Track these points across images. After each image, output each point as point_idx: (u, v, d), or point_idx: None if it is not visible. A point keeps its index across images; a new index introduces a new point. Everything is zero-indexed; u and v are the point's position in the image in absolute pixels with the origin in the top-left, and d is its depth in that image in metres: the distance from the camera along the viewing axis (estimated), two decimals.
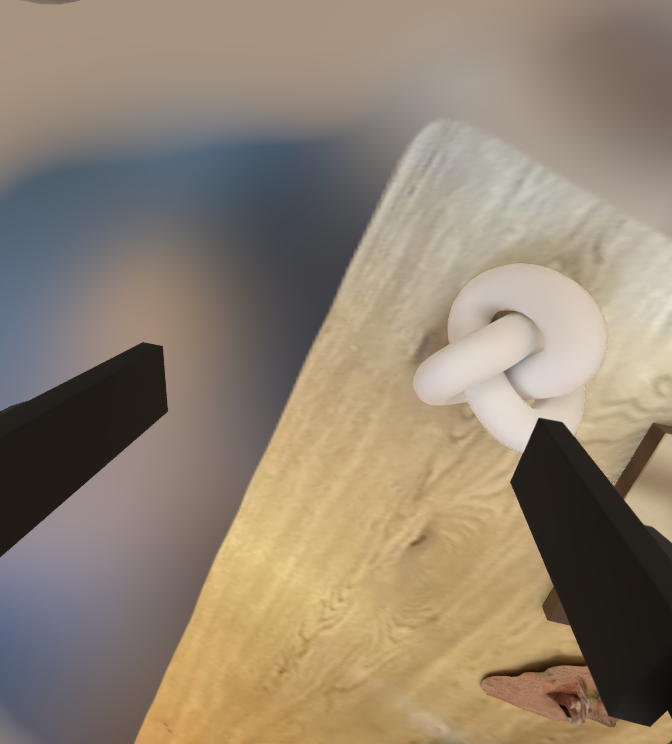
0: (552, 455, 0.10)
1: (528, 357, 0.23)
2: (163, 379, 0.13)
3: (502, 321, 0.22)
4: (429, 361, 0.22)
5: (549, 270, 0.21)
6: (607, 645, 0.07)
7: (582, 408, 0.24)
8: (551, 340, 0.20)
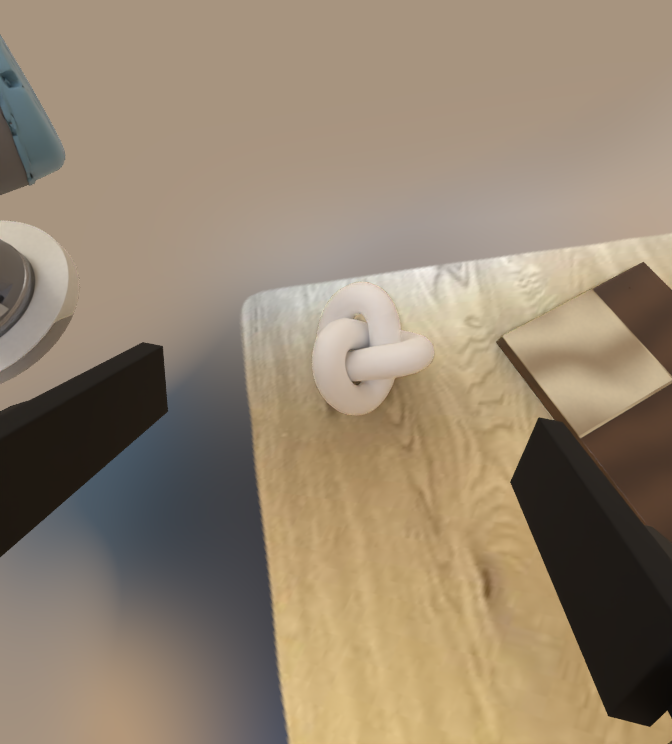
0: (552, 455, 0.10)
1: None
2: (163, 379, 0.13)
3: None
4: None
5: None
6: (607, 645, 0.07)
7: (424, 336, 0.34)
8: (358, 306, 0.32)
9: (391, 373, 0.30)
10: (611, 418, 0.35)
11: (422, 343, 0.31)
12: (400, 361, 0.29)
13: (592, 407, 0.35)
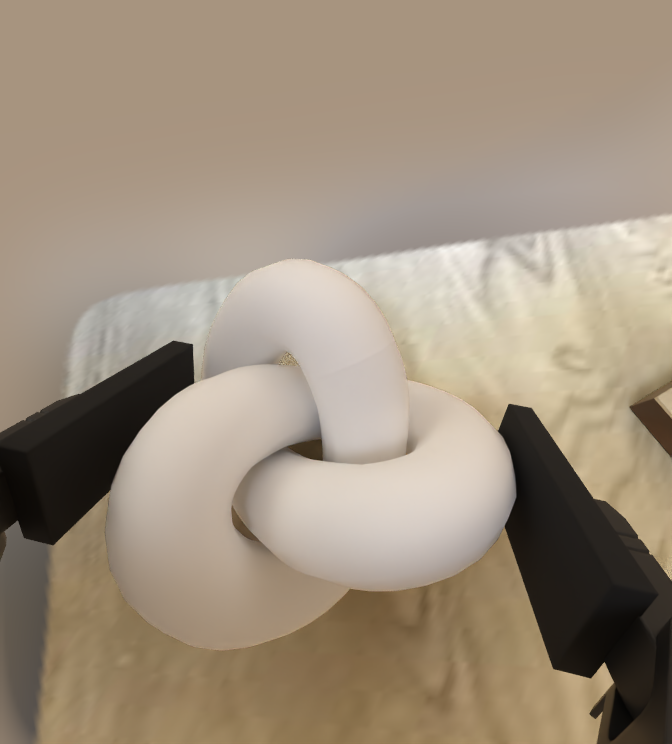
0: (518, 438, 0.11)
1: None
2: (192, 376, 0.14)
3: None
4: None
5: None
6: (554, 606, 0.08)
7: (475, 413, 0.12)
8: (277, 332, 0.10)
9: (383, 587, 0.08)
10: None
11: (487, 461, 0.09)
12: (417, 555, 0.08)
13: None
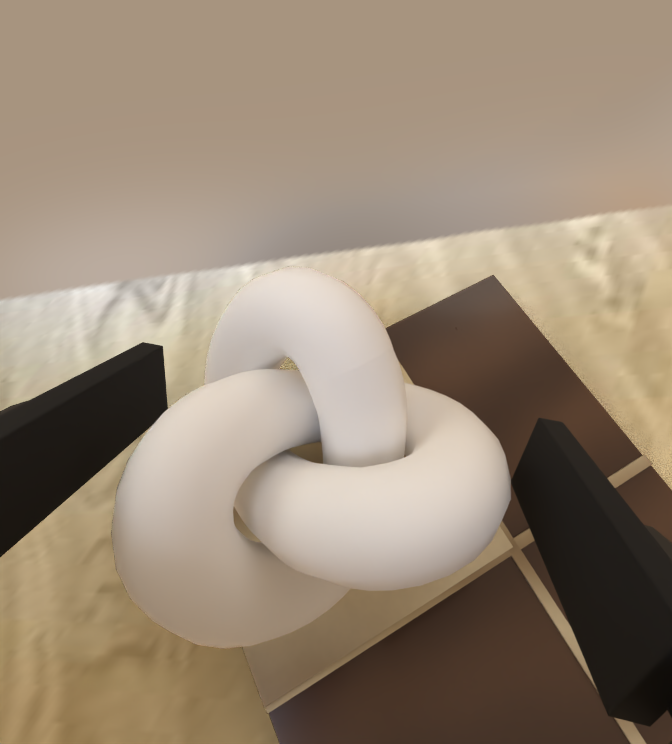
0: (552, 455, 0.10)
1: None
2: (164, 379, 0.13)
3: None
4: None
5: None
6: (607, 645, 0.07)
7: (472, 416, 0.12)
8: (278, 339, 0.11)
9: (379, 587, 0.08)
10: (353, 654, 0.15)
11: (481, 464, 0.09)
12: (412, 556, 0.08)
13: (313, 622, 0.15)
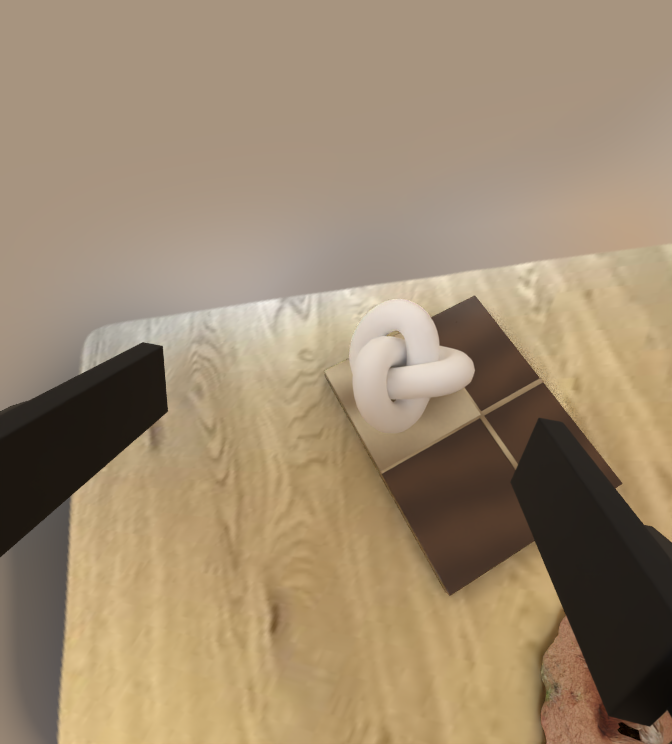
0: (552, 455, 0.10)
1: (407, 352, 0.34)
2: (163, 379, 0.13)
3: None
4: None
5: None
6: (607, 645, 0.07)
7: (462, 352, 0.33)
8: (396, 323, 0.32)
9: (435, 392, 0.30)
10: (414, 453, 0.36)
11: (464, 361, 0.30)
12: (445, 380, 0.29)
13: (397, 442, 0.36)
